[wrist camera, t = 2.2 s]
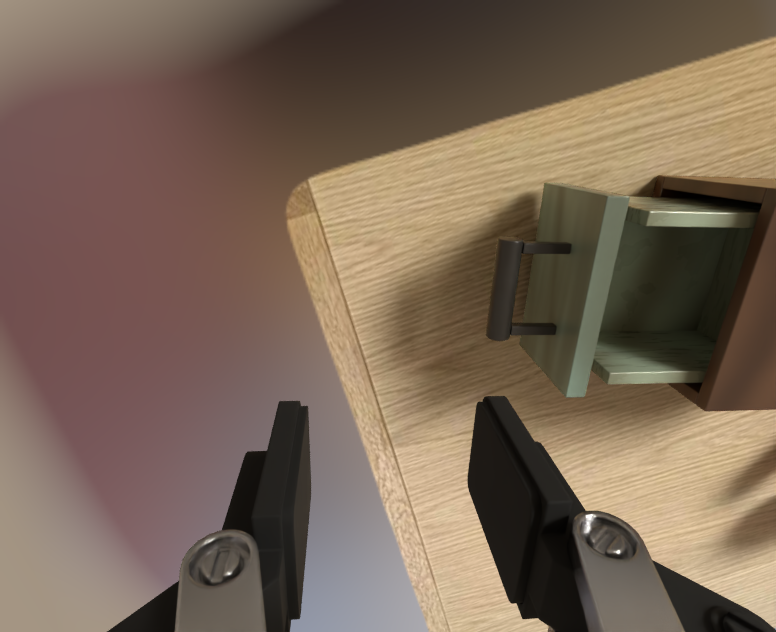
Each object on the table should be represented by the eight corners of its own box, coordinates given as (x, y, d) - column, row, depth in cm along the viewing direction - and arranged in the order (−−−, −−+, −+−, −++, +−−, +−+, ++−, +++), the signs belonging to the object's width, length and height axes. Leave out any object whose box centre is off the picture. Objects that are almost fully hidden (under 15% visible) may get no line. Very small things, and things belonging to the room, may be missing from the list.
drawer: (463, 345, 32) (495, 399, 25) (480, 180, 28) (524, 193, 21) (689, 342, 34) (776, 392, 27) (737, 187, 30) (854, 201, 23)
